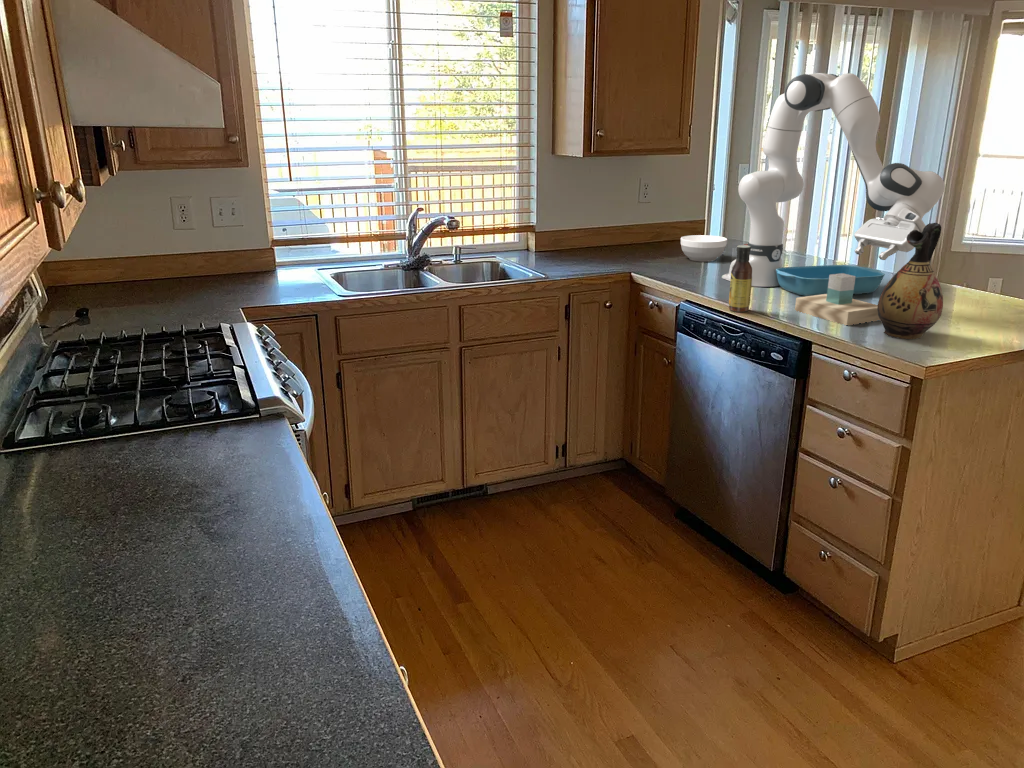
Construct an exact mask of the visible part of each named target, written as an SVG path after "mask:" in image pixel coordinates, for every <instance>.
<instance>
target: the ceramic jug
mask: <svg viewBox="0 0 1024 768" xmlns="http://www.w3.org/2000/svg"><path fill="white" fill-rule="evenodd" d="M925 225H926V226H925V227H924V229H923V231H922V233H921V232H919V231H918V230H913V231H911V232H910V233H909V234H908V235H907V241H908V243H909V244H910V245H912V246H913V247H914V249H915V251H914V252H915V253H914V254H913V255H912V257H911V258H910V259H909V261H908V262H906V264H904V265H903V266H902V267H901V268H900V269H899V270H898V271H897V272H895V274H894V275H893V276H892V277H891V279H890V280H889V281H888V282H887V283H886V284H885V286H884V287H883V289H882V292H881V294H880V297H879V299H878V302H877V305H878V308H877V310H878V316H879V319H880V322H881V324H882V327H883V328H884V329H883V330H884V332H883V334H884V335H886V336H887V335H888V336H887V337H890V336H891V338H893V337H895V338H896V339H897V338H898V339H901V340H918V339H921V338H922V337H923V335H924V334H925V333H927V331H928V330H930V329H931V328H932V327H934V325H936V323H937V322H938V321H939V319H940V318H941V315H942V312H943V308H944V295H943V290H942V287H941V284H940V281H939V279H938V277H937V274H936V272H935V270H934V269H933V267H932V266H931V260H932V257H933V255H934V252H935V249H936V248H937V245H938V242H939V240H940V238H941V233H942V225H941V224H940V223H938V222H932V223H931V222H930V223H927V224H925Z"/></svg>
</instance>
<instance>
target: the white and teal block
mask: <svg viewBox="0 0 1024 768" xmlns="http://www.w3.org/2000/svg"><path fill="white" fill-rule="evenodd" d="M855 277H856V276H852V275H848V274H844V273H841V274H831V275H829V283H828V290H827V298H826V301H827V302H831V303H834V304H838V305H840V304H848V303H852V299H854V297H853V296H854V295H853V291H854V284H855Z"/></svg>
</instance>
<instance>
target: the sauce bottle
mask: <svg viewBox="0 0 1024 768" xmlns="http://www.w3.org/2000/svg"><path fill="white" fill-rule="evenodd" d="M750 250H751V246H748V245H743V244H740V245H737V246H736V258H735V259H736V262H735V264H734V266H733V268H732V271H731V280H730V281H729V282H730V283H729V294H728V295H729V296H728V309H729V310H730V311H732V312H736V313H745V312H748V311H749V310H750V305H751V294H752V293H751V292H752V286H751V284H752V267H751V265H750V263H749V255H750Z"/></svg>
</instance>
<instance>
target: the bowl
mask: <svg viewBox="0 0 1024 768" xmlns="http://www.w3.org/2000/svg"><path fill="white" fill-rule="evenodd" d="M727 243H728V239H727V237H724V236H719V235H709V234H708V235H707V234H705V235H704V234H703V235H701V234H698V235H697V234H696V235H695V234H694V235H693V234H692V235H684V236H681V237H680V245H681V250H682V252H683V254H684V255H685V256H686V257H687V258H688V259H689V261H694V262H702V263H703V262H704V263H705V262H706V263H707V262H713V261H716V260H717V259H718V258H720V256H722V255H723V253H724V251H725V249H726V248H727Z"/></svg>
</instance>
